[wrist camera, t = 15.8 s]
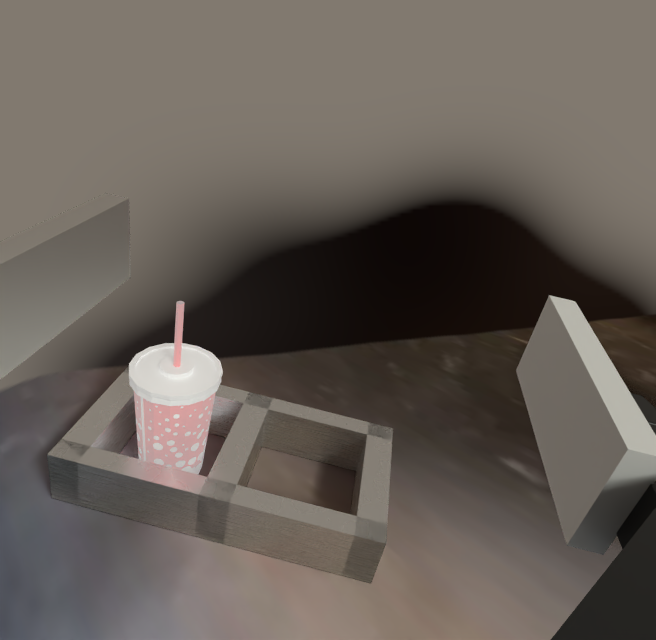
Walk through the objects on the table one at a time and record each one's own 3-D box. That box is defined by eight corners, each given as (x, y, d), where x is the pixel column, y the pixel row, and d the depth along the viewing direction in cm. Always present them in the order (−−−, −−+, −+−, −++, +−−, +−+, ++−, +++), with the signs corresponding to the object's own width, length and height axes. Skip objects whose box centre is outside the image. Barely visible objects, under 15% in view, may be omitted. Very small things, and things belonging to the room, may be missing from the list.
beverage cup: (228, 466, 39) (249, 309, 33) (162, 510, 35) (170, 340, 28) (178, 424, 42) (188, 273, 36) (110, 460, 38) (107, 294, 31)
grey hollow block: (380, 464, 43) (393, 428, 41) (371, 583, 33) (386, 543, 31) (131, 400, 44) (132, 362, 42) (51, 498, 34) (47, 454, 32)
